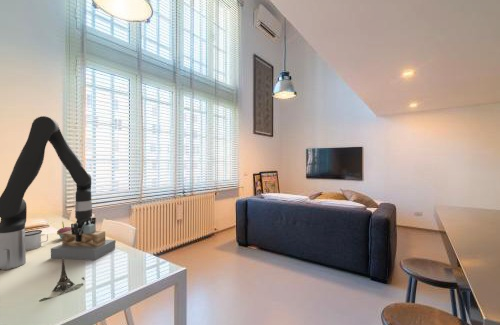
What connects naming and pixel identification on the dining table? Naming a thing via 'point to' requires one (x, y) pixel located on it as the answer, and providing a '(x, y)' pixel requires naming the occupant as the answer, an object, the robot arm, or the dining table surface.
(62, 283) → the eiffel tower figurine
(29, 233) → the mug
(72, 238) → the brown wooden box
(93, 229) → the crate
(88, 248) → the dock
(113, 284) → the dining table surface
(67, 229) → the cupcake
